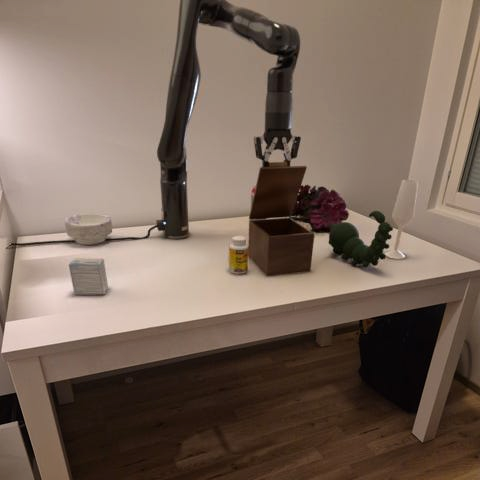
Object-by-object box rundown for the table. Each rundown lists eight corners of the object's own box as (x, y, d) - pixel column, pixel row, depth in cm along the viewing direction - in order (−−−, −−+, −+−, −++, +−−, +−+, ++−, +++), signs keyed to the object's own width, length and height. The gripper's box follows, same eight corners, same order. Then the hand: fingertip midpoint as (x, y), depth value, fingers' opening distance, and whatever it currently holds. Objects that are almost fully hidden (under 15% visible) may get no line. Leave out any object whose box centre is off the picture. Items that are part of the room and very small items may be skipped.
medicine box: (108, 288, 113) (104, 257, 109) (104, 295, 109) (99, 264, 105) (79, 288, 113) (73, 257, 109) (74, 295, 109) (68, 264, 105)
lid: (306, 167, 120) (300, 155, 123) (260, 168, 116) (255, 156, 119) (290, 216, 135) (285, 205, 138) (249, 219, 131) (244, 207, 134)
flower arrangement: (280, 215, 183) (283, 179, 176) (320, 211, 190) (323, 177, 182) (317, 235, 158) (322, 195, 151) (361, 231, 164) (367, 192, 157)
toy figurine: (387, 275, 129) (336, 244, 147) (404, 216, 119) (347, 190, 137) (364, 280, 125) (314, 248, 143) (380, 219, 115) (324, 193, 133)
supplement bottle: (234, 275, 122) (234, 242, 118) (226, 269, 127) (226, 236, 122) (250, 272, 125) (252, 239, 120) (242, 266, 129) (243, 234, 124)
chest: (310, 271, 127) (314, 233, 121) (266, 276, 123) (268, 236, 117) (287, 252, 141) (290, 217, 136) (248, 255, 137) (249, 220, 132)
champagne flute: (387, 250, 145) (401, 178, 133) (407, 254, 142) (423, 180, 130) (382, 256, 140) (396, 181, 128) (402, 260, 137) (419, 184, 125)
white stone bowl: (116, 245, 144) (113, 222, 140) (69, 250, 139) (65, 226, 135) (111, 232, 156) (108, 211, 153) (67, 236, 151) (63, 214, 148)
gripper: (296, 110, 122) (293, 171, 130) (249, 110, 118) (248, 173, 126) (307, 111, 116) (303, 175, 123) (258, 110, 112) (257, 177, 120)
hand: (275, 173), depth 125 cm, fingers closed on lid, 5 cm apart
